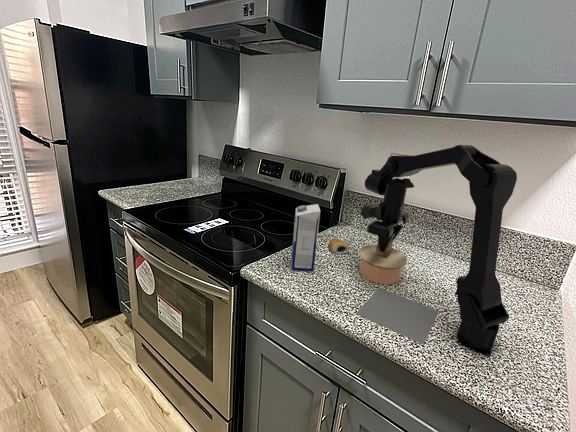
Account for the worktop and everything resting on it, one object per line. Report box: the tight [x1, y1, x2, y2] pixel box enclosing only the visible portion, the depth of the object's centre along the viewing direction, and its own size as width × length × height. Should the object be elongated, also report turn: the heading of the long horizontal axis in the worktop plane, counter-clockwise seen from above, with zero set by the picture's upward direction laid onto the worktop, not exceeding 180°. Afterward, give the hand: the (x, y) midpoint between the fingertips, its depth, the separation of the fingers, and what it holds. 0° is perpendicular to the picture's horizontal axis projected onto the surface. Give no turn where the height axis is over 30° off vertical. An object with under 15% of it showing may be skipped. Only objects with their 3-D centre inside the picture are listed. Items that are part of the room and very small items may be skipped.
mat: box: [355, 287, 440, 345], centre depth 78 cm, size 16×16×1 cm
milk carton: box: [290, 203, 321, 273], centre depth 95 cm, size 7×7×20 cm
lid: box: [358, 239, 408, 268], centre depth 93 cm, size 14×14×6 cm
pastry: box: [328, 238, 350, 255], centre depth 113 cm, size 9×7×4 cm
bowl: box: [359, 257, 404, 286], centre depth 96 cm, size 12×12×6 cm
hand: (384, 249), depth 94 cm, fingers open, 4 cm apart
